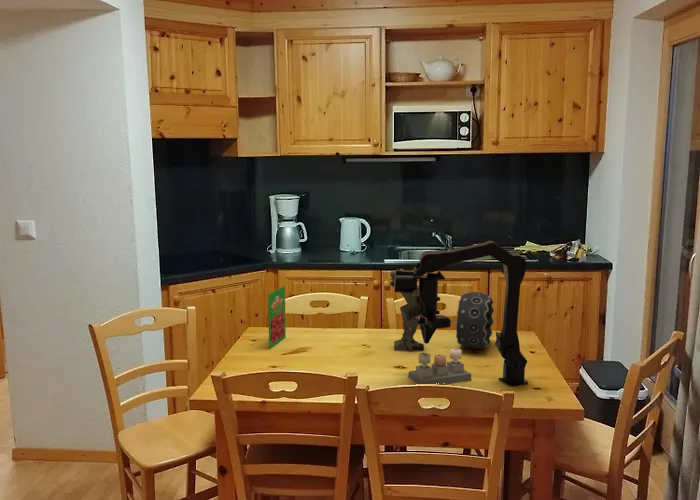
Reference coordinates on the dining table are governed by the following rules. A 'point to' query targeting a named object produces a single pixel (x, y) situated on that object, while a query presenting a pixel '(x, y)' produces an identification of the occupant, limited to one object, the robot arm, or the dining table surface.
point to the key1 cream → (455, 355)
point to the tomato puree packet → (276, 316)
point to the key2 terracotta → (440, 360)
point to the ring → (474, 320)
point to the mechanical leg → (407, 325)
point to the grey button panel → (440, 374)
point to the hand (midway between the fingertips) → (426, 343)
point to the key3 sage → (424, 359)
